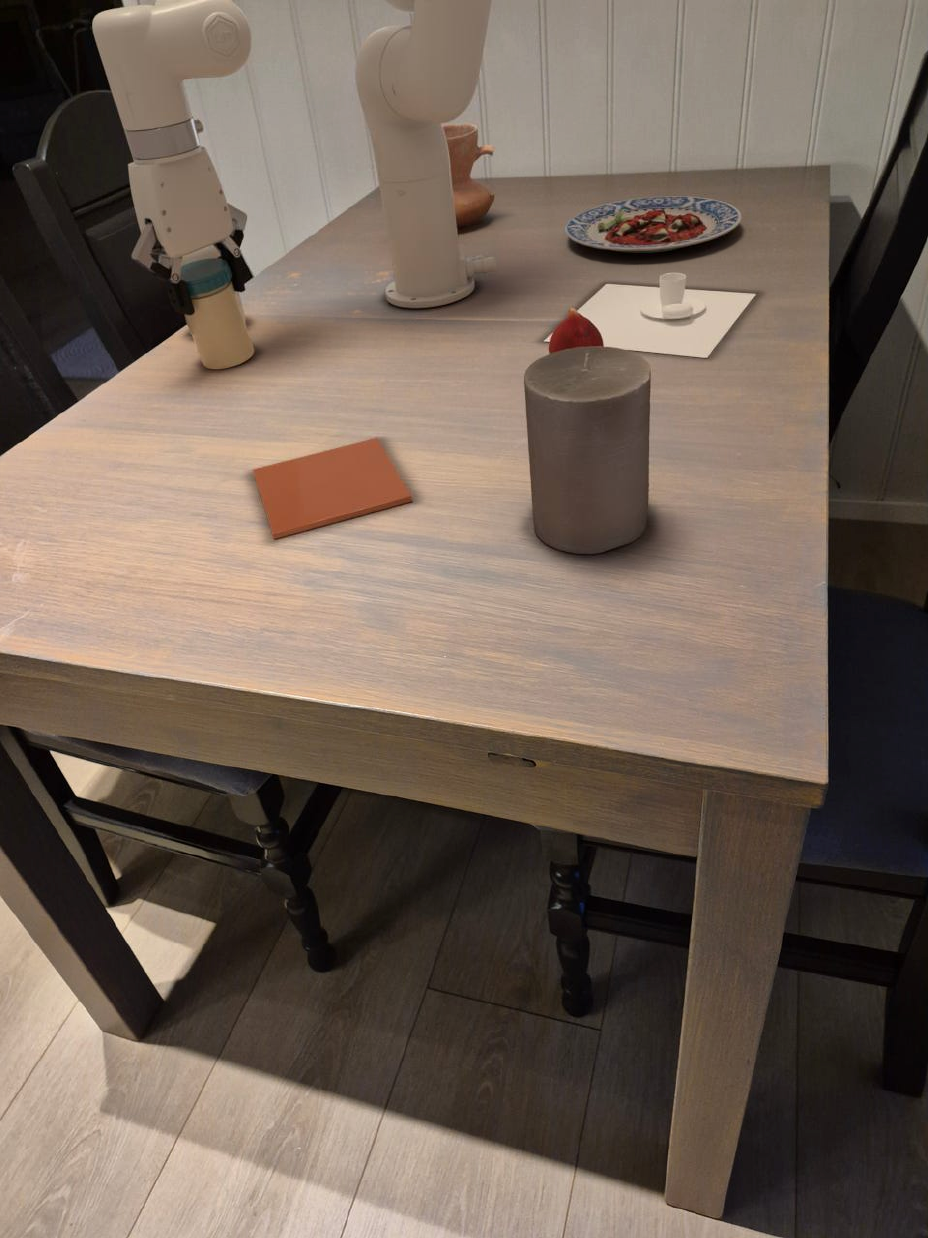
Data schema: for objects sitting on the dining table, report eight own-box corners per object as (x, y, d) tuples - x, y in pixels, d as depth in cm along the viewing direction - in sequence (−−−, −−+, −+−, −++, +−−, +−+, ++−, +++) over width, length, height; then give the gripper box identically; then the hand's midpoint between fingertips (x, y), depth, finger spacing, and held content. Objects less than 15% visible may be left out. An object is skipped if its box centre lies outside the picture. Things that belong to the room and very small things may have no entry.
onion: (608, 370, 99) (608, 298, 94) (597, 392, 95) (596, 319, 90) (557, 368, 100) (554, 298, 96) (544, 390, 96) (540, 318, 91)
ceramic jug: (500, 206, 156) (492, 115, 147) (500, 230, 145) (492, 133, 136) (399, 218, 158) (385, 128, 149) (391, 242, 146) (376, 147, 137)
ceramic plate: (778, 227, 130) (780, 206, 128) (648, 277, 120) (648, 254, 118) (654, 201, 147) (654, 182, 145) (531, 242, 138) (530, 222, 136)
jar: (245, 339, 118) (219, 261, 111) (261, 356, 113) (234, 275, 106) (197, 357, 116) (167, 278, 109) (210, 374, 111) (180, 293, 104)
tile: (378, 442, 91) (376, 437, 91) (412, 501, 82) (411, 495, 81) (254, 474, 89) (252, 469, 89) (274, 539, 79) (272, 533, 79)
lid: (229, 288, 105) (225, 274, 104) (169, 300, 105) (163, 286, 104) (234, 267, 111) (230, 253, 110) (177, 279, 111) (171, 265, 110)
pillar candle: (553, 487, 81) (544, 326, 71) (660, 499, 77) (665, 331, 68) (517, 547, 74) (501, 378, 64) (632, 563, 70) (634, 387, 61)
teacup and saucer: (691, 327, 105) (693, 293, 102) (627, 321, 109) (627, 288, 106) (713, 300, 111) (716, 267, 108) (652, 296, 114) (653, 264, 112)
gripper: (204, 122, 105) (244, 274, 116) (77, 160, 95) (135, 323, 106) (245, 123, 101) (283, 281, 112) (117, 163, 91) (173, 332, 102)
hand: (211, 300), depth 109 cm, fingers closed on lid, 7 cm apart
